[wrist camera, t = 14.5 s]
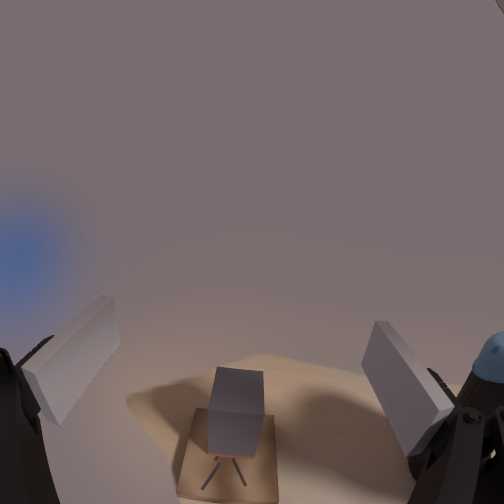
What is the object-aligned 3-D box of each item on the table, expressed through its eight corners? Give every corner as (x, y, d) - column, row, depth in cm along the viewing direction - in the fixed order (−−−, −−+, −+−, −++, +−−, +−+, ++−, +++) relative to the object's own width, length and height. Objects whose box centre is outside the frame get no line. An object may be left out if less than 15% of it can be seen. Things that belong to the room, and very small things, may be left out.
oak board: (271, 422, 37) (273, 415, 37) (276, 506, 22) (279, 501, 21) (196, 414, 37) (196, 407, 36) (177, 496, 21) (176, 491, 21)
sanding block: (254, 418, 36) (263, 371, 33) (253, 459, 28) (264, 414, 25) (214, 414, 36) (217, 366, 33) (208, 454, 28) (208, 409, 25)
